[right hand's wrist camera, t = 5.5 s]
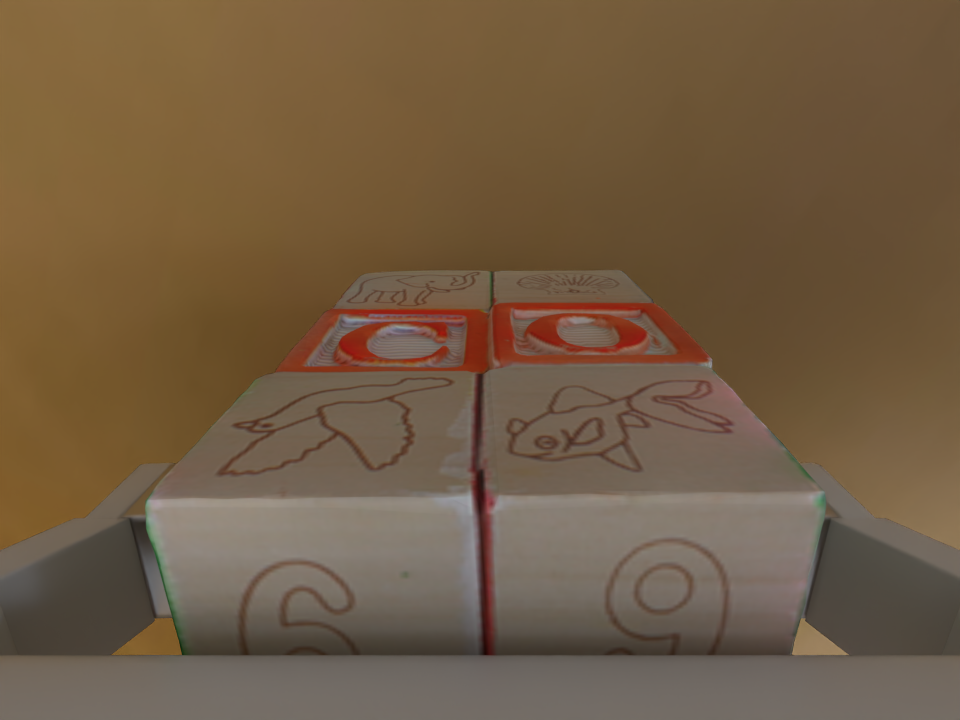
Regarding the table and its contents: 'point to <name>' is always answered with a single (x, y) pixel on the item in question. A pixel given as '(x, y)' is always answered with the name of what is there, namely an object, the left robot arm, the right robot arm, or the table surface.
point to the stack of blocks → (488, 485)
